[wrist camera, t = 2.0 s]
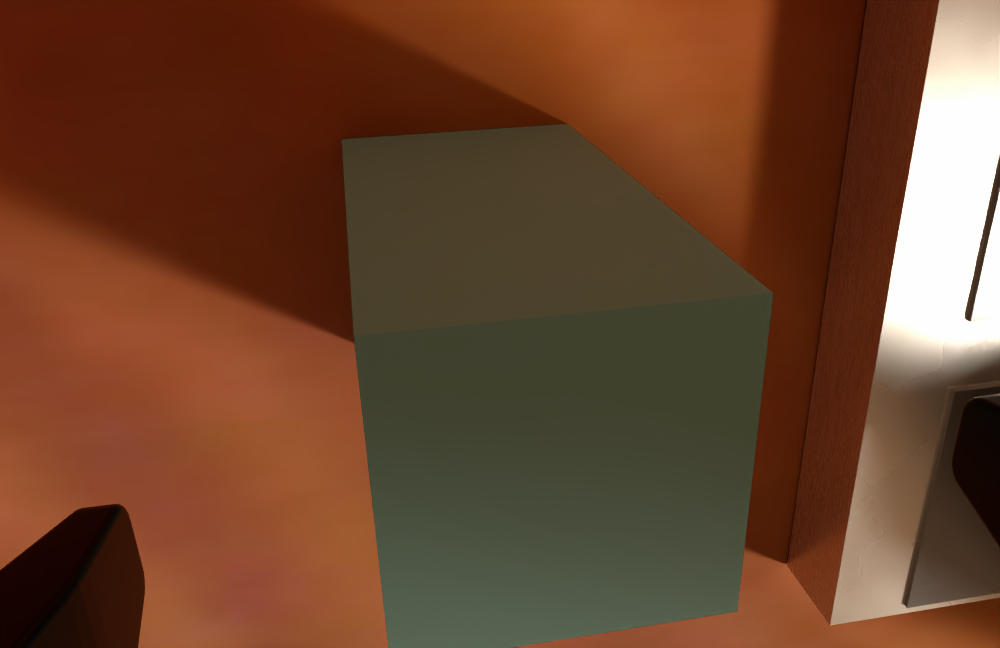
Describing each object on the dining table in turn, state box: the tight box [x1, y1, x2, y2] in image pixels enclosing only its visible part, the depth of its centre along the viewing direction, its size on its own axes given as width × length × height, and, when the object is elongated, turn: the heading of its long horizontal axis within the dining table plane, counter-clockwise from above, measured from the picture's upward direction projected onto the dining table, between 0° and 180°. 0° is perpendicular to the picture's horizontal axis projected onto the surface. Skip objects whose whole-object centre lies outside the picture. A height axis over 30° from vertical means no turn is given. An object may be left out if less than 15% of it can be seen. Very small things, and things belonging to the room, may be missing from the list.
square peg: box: [342, 124, 773, 648], centre depth 12 cm, size 4×4×8 cm
